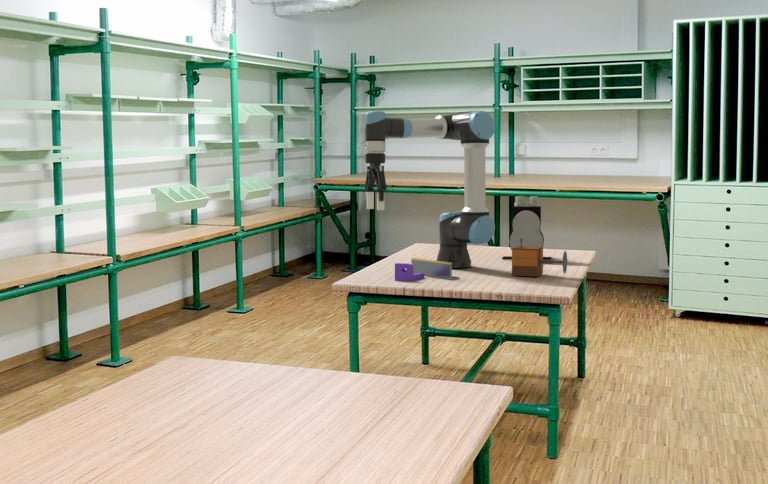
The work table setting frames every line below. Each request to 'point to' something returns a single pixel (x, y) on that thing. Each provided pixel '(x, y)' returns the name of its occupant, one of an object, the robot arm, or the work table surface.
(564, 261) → the brown box with disc
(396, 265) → the bracket
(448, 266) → the wall
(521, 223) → the mechanical component
